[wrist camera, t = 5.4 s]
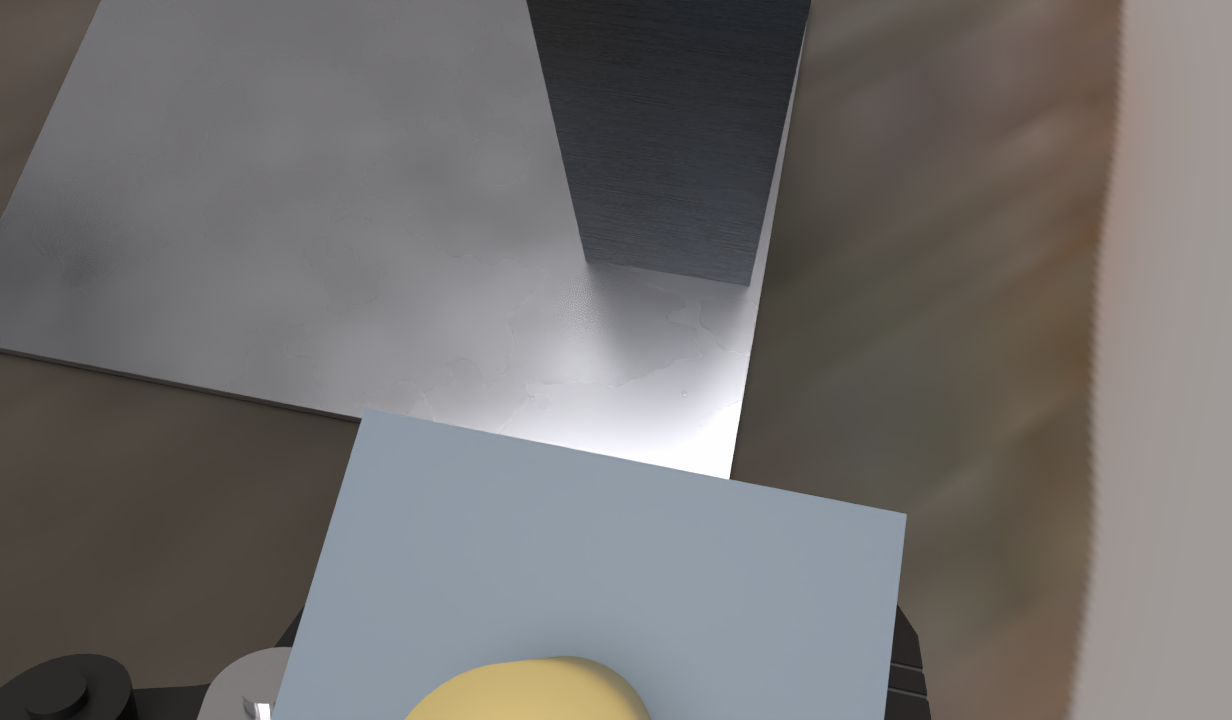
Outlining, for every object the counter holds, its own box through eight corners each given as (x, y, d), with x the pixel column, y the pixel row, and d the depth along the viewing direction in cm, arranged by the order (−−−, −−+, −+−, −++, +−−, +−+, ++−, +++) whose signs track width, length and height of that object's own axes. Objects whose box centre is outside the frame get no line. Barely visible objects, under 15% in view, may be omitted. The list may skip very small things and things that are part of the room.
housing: (474, 792, 16) (-105, 1243, 4) (534, 539, 17) (232, 305, 5) (728, 856, 15) (935, 1597, 3) (769, 588, 17) (1021, 452, 5)
